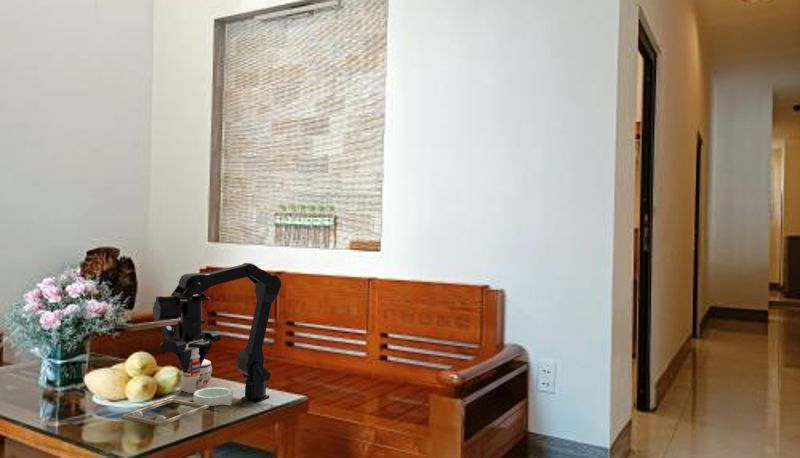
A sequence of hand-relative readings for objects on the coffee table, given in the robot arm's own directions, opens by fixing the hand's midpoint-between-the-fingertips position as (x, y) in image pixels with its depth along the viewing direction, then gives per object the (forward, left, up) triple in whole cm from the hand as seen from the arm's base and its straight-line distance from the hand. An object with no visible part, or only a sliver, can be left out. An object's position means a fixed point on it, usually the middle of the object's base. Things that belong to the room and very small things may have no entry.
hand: (191, 370), depth 174 cm
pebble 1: (+14, -6, -11) cm, 19 cm away
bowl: (-8, +2, -12) cm, 14 cm away
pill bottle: (0, 0, -2) cm, 2 cm away
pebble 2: (+14, +3, -11) cm, 18 cm away
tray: (+8, -1, -12) cm, 14 cm away
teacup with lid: (-19, -14, -12) cm, 27 cm away
